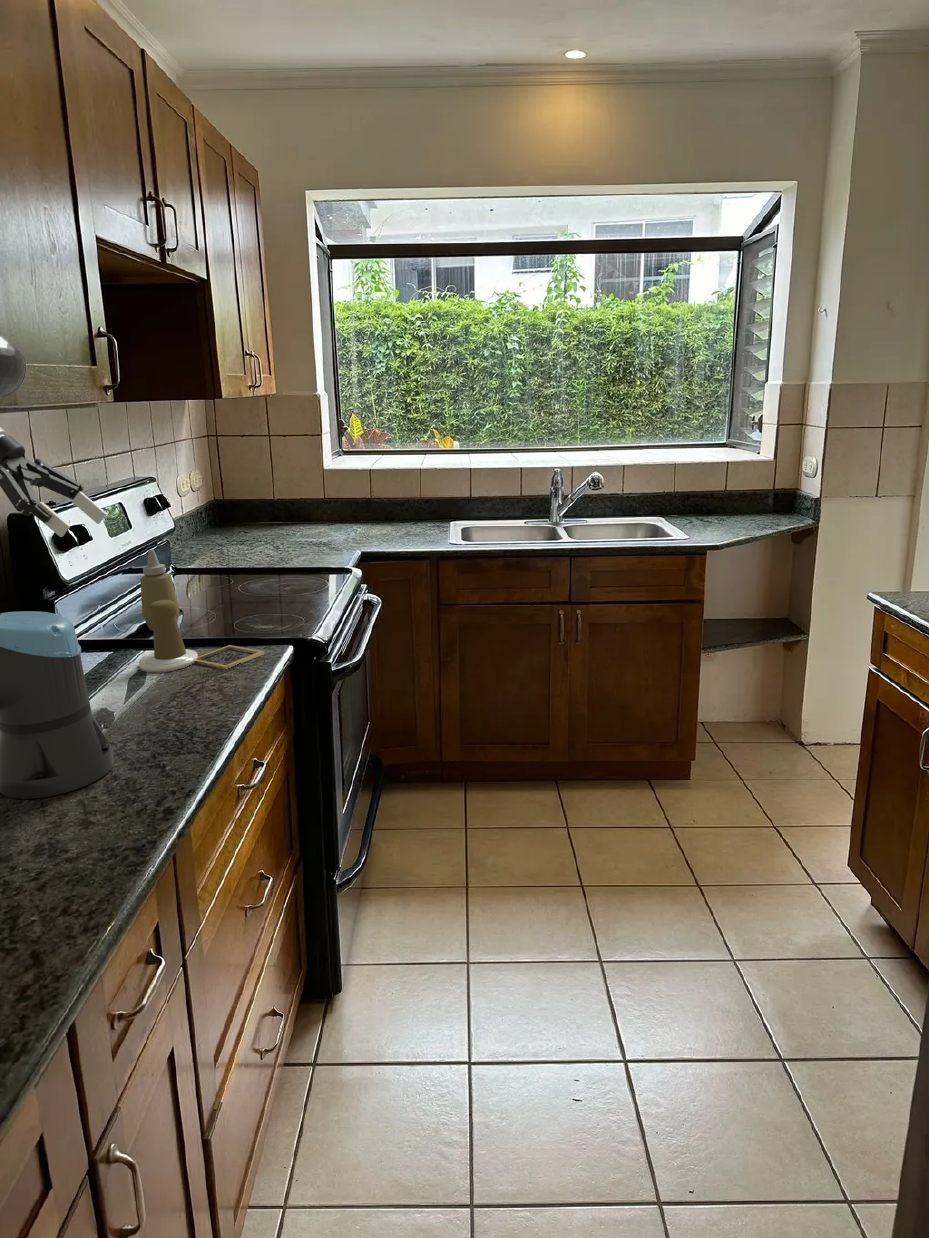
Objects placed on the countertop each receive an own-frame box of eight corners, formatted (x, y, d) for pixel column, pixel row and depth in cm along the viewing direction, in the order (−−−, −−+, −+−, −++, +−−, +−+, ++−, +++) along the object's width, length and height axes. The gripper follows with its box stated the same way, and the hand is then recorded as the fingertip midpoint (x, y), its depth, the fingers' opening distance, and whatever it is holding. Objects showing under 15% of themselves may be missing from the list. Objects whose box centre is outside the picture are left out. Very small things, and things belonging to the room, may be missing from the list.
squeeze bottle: (158, 635, 183) (145, 555, 178) (137, 630, 188) (124, 552, 183) (189, 625, 189) (177, 547, 184) (168, 621, 194) (156, 545, 189)
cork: (184, 648, 169) (176, 595, 166) (187, 656, 164) (179, 602, 161) (153, 653, 167) (144, 600, 164) (155, 661, 162) (146, 607, 159)
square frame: (225, 669, 158) (225, 666, 158) (190, 662, 164) (190, 659, 164) (264, 654, 166) (264, 651, 166) (229, 647, 172) (229, 644, 172)
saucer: (164, 675, 157) (163, 670, 157) (127, 667, 163) (126, 662, 162) (209, 658, 166) (209, 652, 165) (173, 651, 172) (172, 645, 171)
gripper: (22, 457, 169) (106, 527, 172) (-62, 471, 145) (37, 552, 148) (42, 429, 167) (126, 500, 170) (-40, 438, 143) (59, 521, 146)
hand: (85, 525), depth 159 cm, fingers open, 13 cm apart
